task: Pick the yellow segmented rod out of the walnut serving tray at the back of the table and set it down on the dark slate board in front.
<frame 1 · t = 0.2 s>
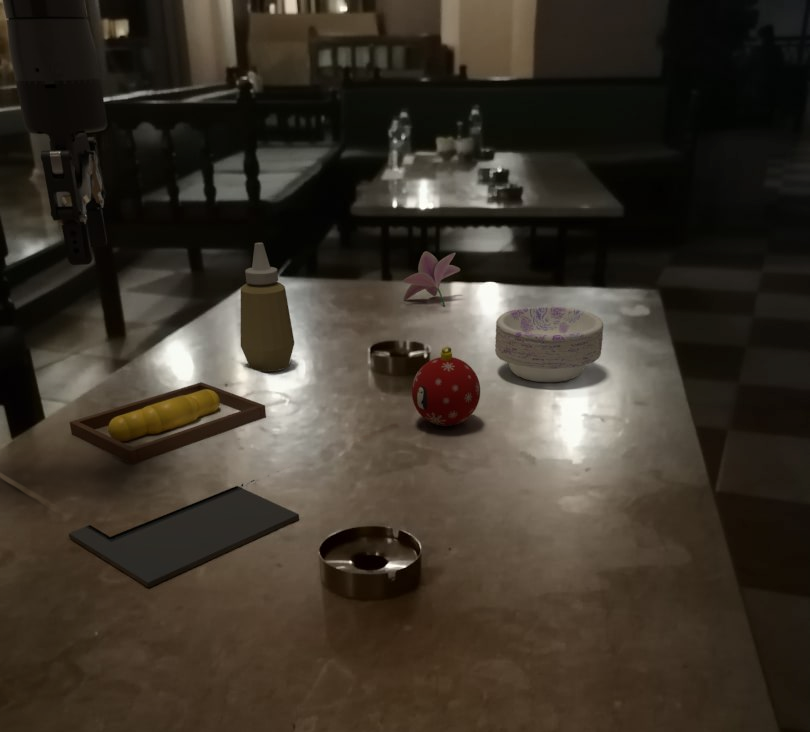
hand: (89, 254, 92), 24 cm above the table, tool pointing down, fingers open, 8 cm apart
paper bowls: (546, 374, 133), on the table
board: (186, 528, 91), on the table
tray: (171, 432, 114), on the table
christmas ornament: (445, 425, 116), on the table
lily: (431, 302, 170), on the table
squeeze bottle: (269, 368, 137), on the table
yellow segmented rod: (173, 428, 114), point 1 cm above the table, tilted 15°, touching tray
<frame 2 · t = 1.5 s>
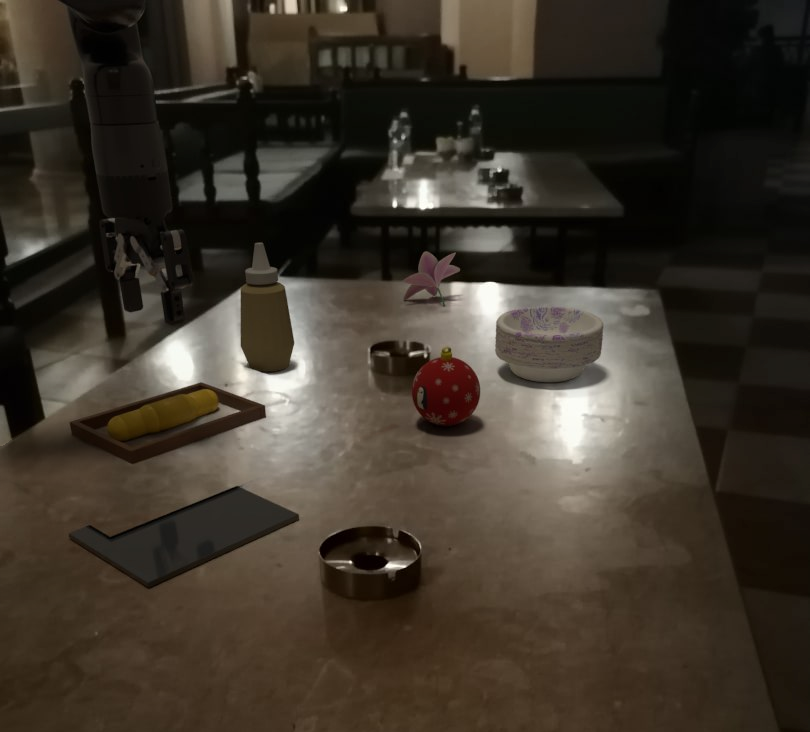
hand: (154, 317, 106), 15 cm above the table, tool pointing down, fingers open, 8 cm apart
yellow segmented rod: (172, 427, 114), point 1 cm above the table, tilted 24°, touching tray
everything else where it was.
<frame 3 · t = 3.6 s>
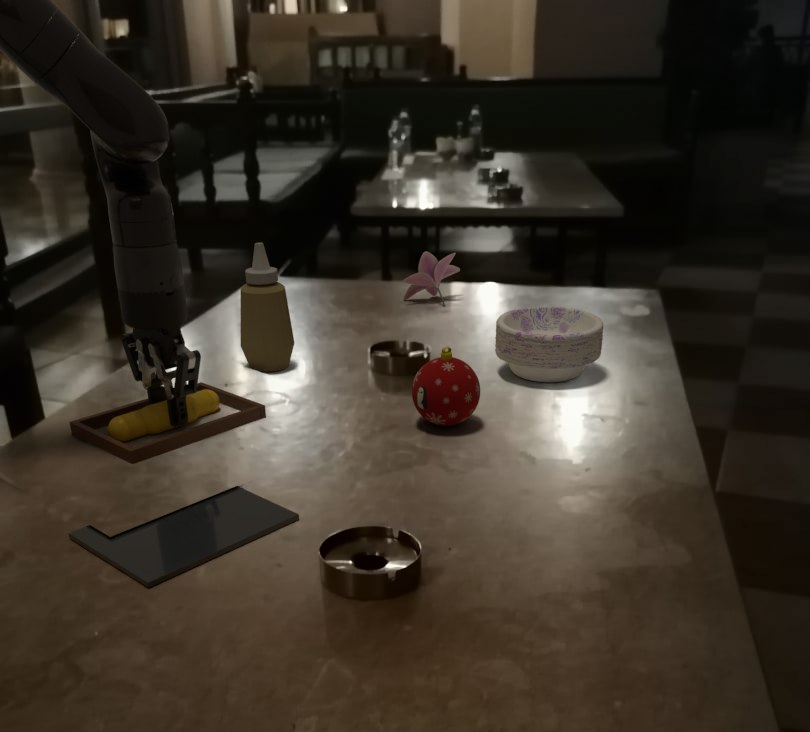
hand: (169, 420, 113), 2 cm above the table, tool pointing down, fingers closed on yellow segmented rod, 3 cm apart
yellow segmented rod: (173, 428, 114), point 1 cm above the table, tilted 17°, touching gripper, tray
everything else where it was.
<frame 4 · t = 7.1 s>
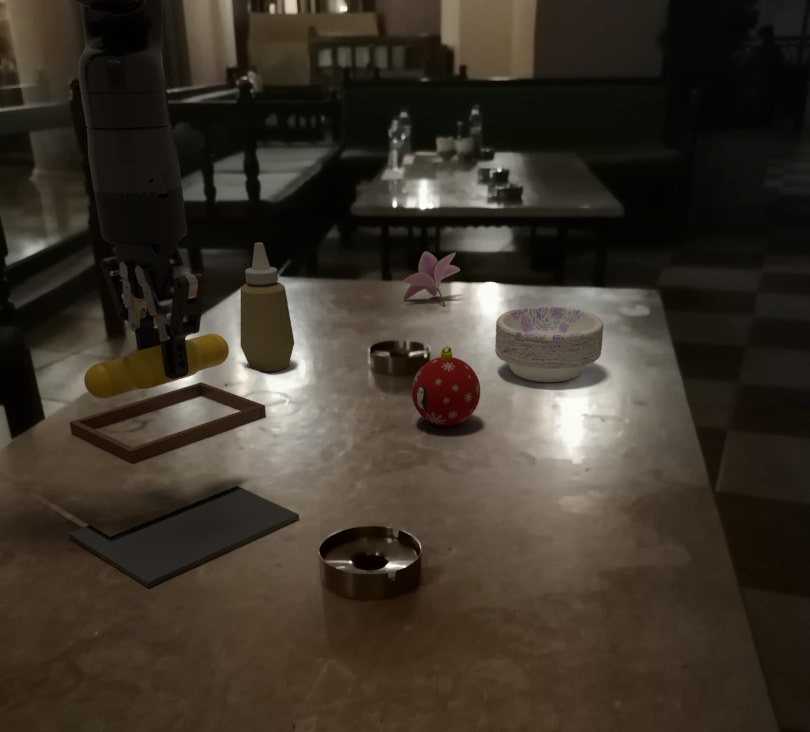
hand: (164, 371, 88), 15 cm above the table, tool pointing down, fingers closed on yellow segmented rod, 3 cm apart
yellow segmented rod: (169, 382, 88), point 14 cm above the table, tilted 17°, touching gripper
everything else where it was.
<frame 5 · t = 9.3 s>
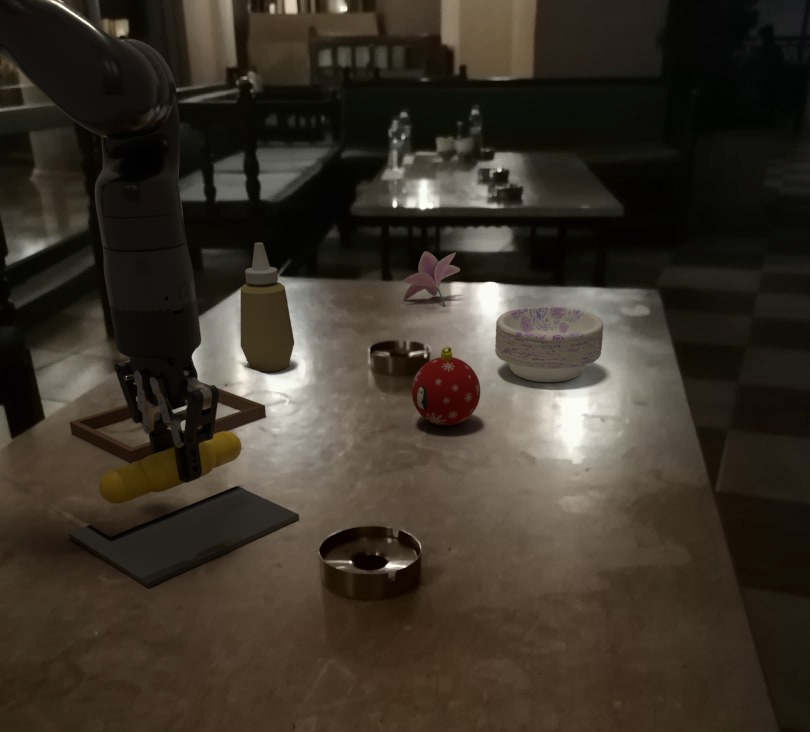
hand: (178, 472, 88), 6 cm above the table, tool pointing down, fingers closed on yellow segmented rod, 3 cm apart
yellow segmented rod: (182, 483, 89), point 5 cm above the table, tilted 17°, touching gripper
everything else where it was.
when the fingers open (2 cm above the table, at t = 10.8 s): yellow segmented rod stays where it is, resting on board.
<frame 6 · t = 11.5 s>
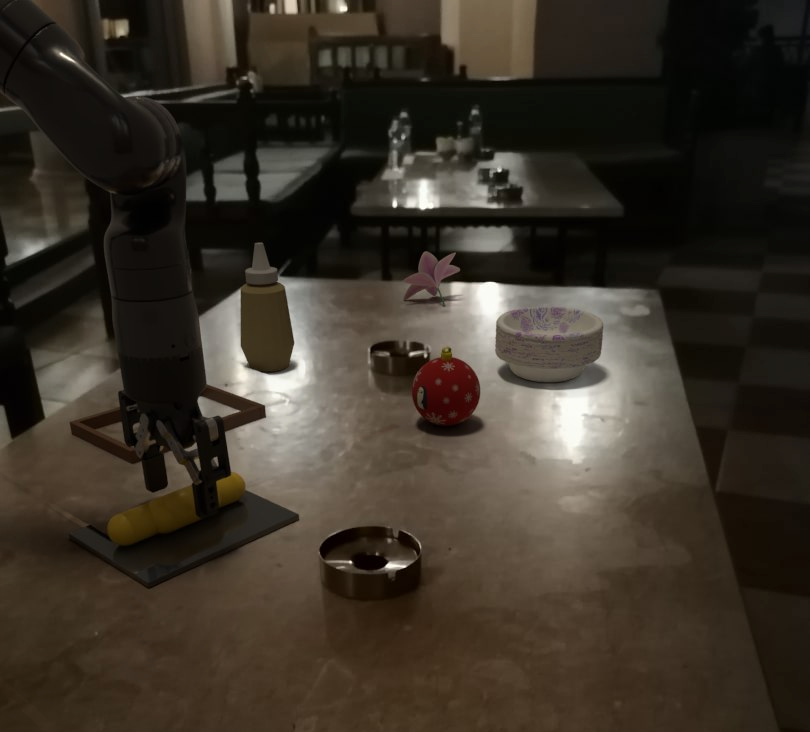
hand: (182, 502, 90), 3 cm above the table, tool pointing down, fingers open, 8 cm apart
yellow segmented rod: (188, 524, 91), point 1 cm above the table, tilted 17°, touching board
everything else where it was.
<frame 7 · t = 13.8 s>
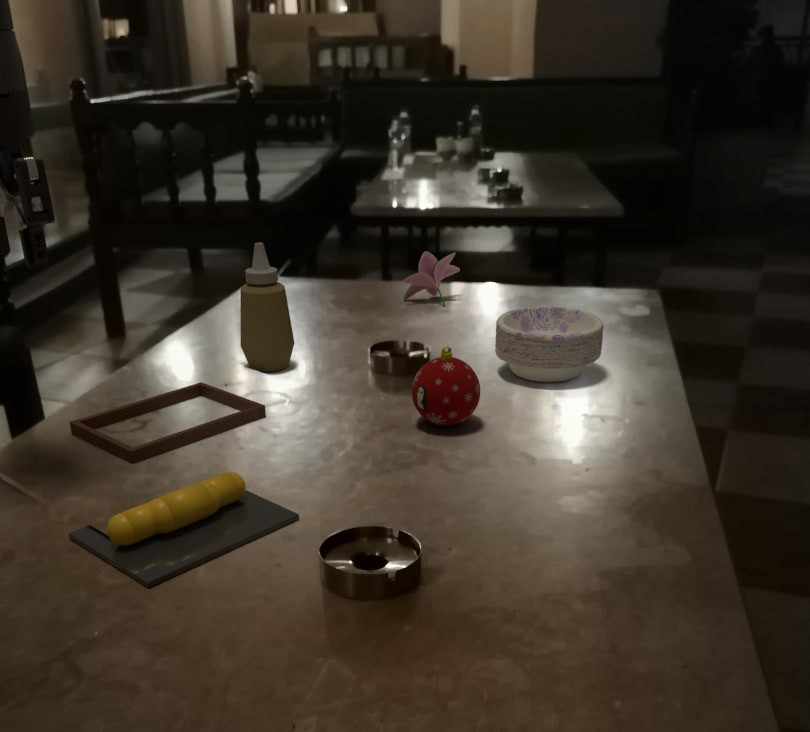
hand: (18, 261, 93), 23 cm above the table, tool pointing down, fingers open, 8 cm apart
nothing on the table moved.
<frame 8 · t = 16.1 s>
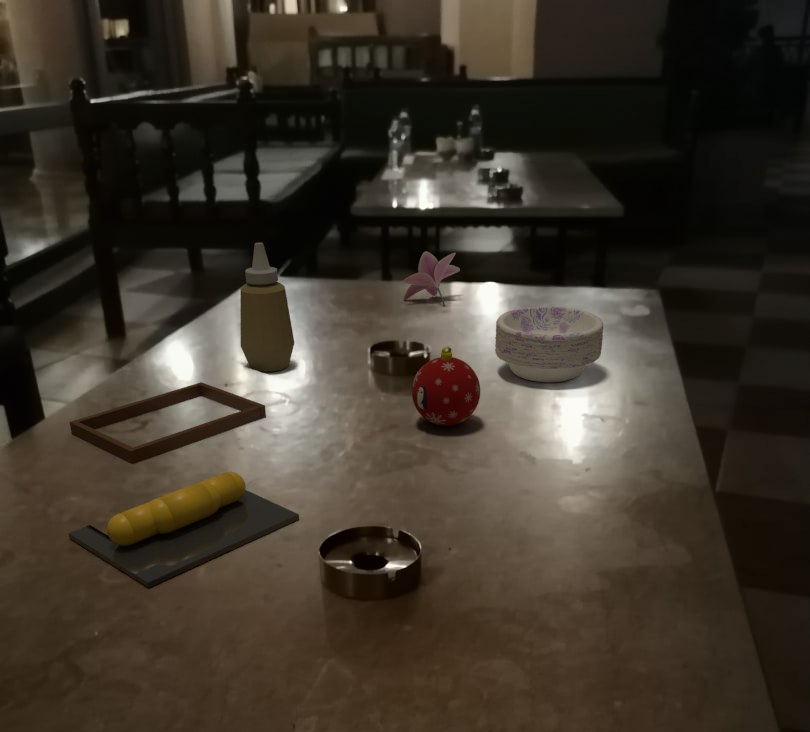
nothing on the table moved.
at the end: yellow segmented rod inside the target area on the board (0.5 cm from its centre), point 0.7 cm above the board's base; yellow segmented rod touching board; the gripper is holding nothing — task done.
